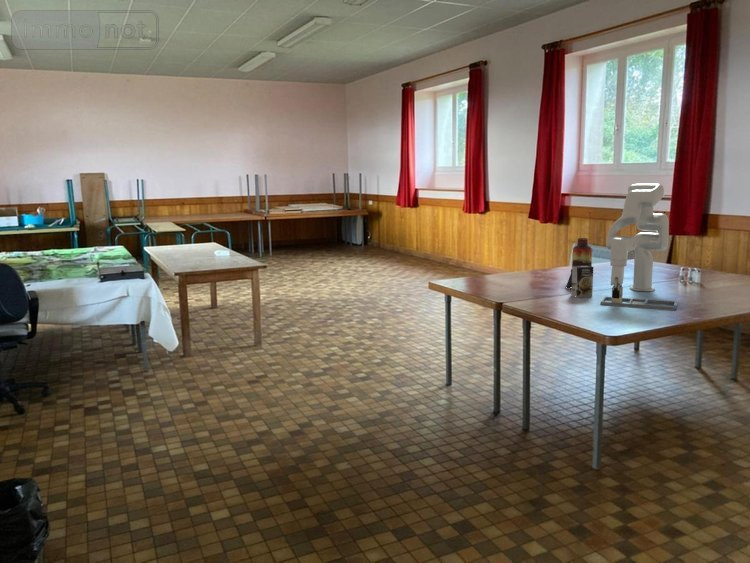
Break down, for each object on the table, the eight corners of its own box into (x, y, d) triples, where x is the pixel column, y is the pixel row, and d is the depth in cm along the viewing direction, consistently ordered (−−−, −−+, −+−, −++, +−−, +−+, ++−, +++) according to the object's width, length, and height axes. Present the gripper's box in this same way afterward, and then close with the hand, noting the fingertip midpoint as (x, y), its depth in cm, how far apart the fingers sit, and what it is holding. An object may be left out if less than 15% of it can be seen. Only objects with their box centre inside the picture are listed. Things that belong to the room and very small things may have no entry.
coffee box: (577, 297, 322) (577, 267, 320) (570, 295, 329) (571, 265, 326) (592, 296, 324) (593, 266, 321) (586, 294, 330) (587, 264, 327)
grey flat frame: (604, 299, 316) (604, 294, 316) (676, 304, 300) (677, 299, 300) (600, 304, 304) (600, 299, 304) (675, 310, 288) (675, 305, 288)
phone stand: (565, 288, 348) (566, 267, 346) (570, 287, 352) (571, 266, 350) (580, 290, 342) (580, 269, 340) (585, 288, 346) (586, 267, 344)
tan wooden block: (612, 302, 310) (613, 286, 309) (622, 302, 308) (622, 287, 306) (611, 303, 306) (612, 288, 305) (621, 304, 304) (621, 288, 303)
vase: (591, 283, 361) (592, 239, 357) (571, 282, 365) (572, 239, 360) (590, 280, 372) (592, 237, 367) (571, 279, 375) (572, 237, 370)
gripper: (612, 260, 313) (611, 292, 316) (607, 264, 298) (606, 299, 301) (628, 260, 309) (627, 293, 312) (624, 265, 294) (622, 300, 297)
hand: (617, 296), depth 306 cm, fingers open, 9 cm apart
